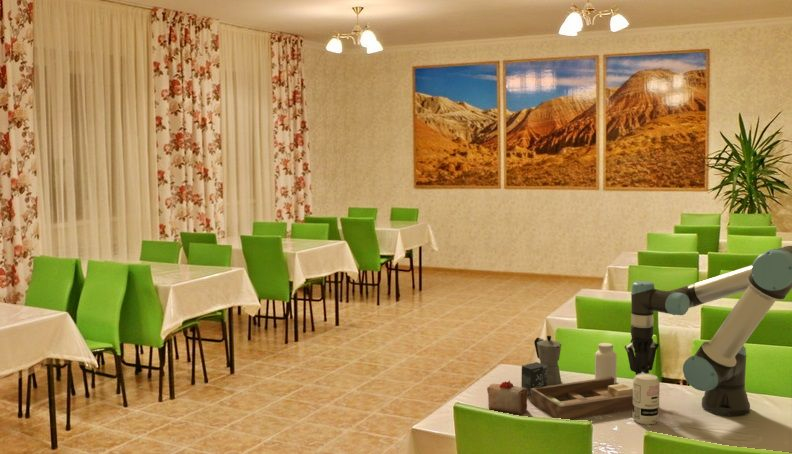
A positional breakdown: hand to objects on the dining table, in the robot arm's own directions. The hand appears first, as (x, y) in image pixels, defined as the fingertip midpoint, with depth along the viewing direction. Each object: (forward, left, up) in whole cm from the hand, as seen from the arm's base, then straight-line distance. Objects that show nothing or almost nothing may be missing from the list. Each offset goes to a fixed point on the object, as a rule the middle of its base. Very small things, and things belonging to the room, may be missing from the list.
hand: (641, 390), depth 262 cm
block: (0, +9, -2) cm, 9 cm away
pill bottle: (+21, 0, -4) cm, 22 cm away
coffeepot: (+32, +19, -4) cm, 38 cm away
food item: (+10, +48, -4) cm, 49 cm away
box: (+21, +31, -4) cm, 38 cm away
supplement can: (-17, +11, -4) cm, 20 cm away
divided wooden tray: (+3, +20, -4) cm, 20 cm away
